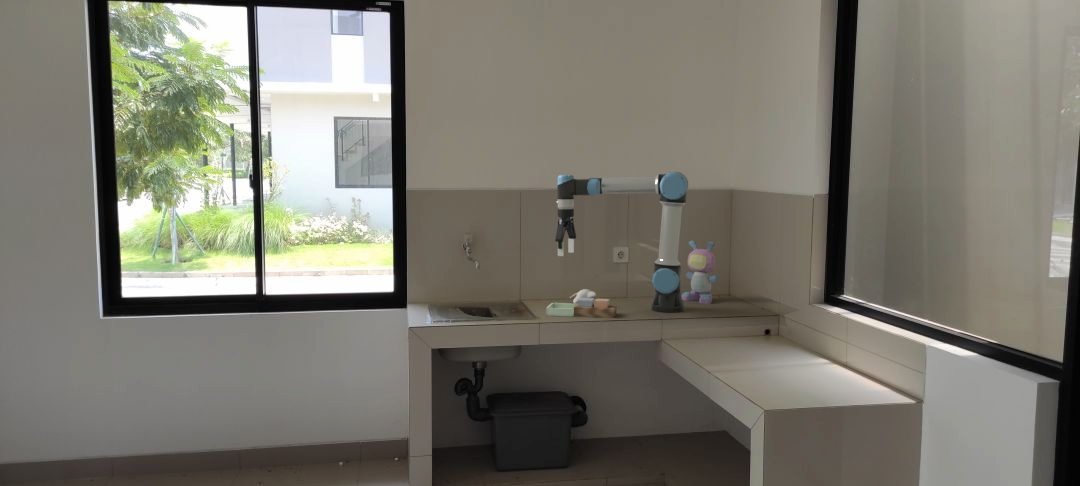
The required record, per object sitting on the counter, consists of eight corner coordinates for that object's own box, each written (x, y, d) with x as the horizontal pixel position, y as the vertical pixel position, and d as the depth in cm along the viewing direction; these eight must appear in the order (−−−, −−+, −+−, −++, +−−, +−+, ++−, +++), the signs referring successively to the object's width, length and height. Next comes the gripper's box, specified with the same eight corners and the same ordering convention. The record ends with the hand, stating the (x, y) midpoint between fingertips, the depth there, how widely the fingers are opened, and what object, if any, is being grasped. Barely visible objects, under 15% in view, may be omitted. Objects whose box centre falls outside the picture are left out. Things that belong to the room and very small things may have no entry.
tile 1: (594, 304, 360) (594, 298, 359) (591, 307, 354) (592, 300, 353) (581, 304, 361) (581, 297, 361) (578, 306, 355) (578, 300, 355)
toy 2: (678, 299, 395) (679, 240, 391) (691, 296, 402) (692, 238, 399) (708, 304, 381) (710, 243, 378) (721, 301, 389) (723, 241, 386)
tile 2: (609, 305, 358) (609, 299, 358) (607, 307, 352) (607, 301, 352) (596, 304, 359) (596, 298, 359) (594, 307, 354) (594, 300, 353)
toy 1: (575, 312, 384) (572, 312, 369) (569, 296, 385) (566, 294, 370) (600, 303, 382) (598, 302, 368) (594, 286, 384) (592, 284, 369)
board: (616, 313, 360) (616, 304, 359) (613, 317, 350) (613, 309, 350) (577, 311, 364) (577, 303, 363) (573, 316, 354) (573, 307, 354)
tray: (578, 311, 365) (578, 303, 365) (573, 316, 353) (573, 309, 352) (552, 310, 368) (552, 302, 368) (545, 315, 356) (545, 307, 355)
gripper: (567, 206, 374) (568, 250, 376) (547, 210, 351) (548, 257, 353) (582, 206, 371) (582, 251, 373) (563, 210, 348) (563, 257, 350)
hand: (566, 254), depth 363 cm, fingers open, 13 cm apart
